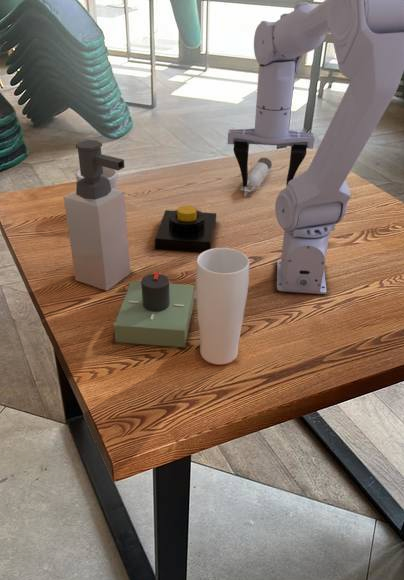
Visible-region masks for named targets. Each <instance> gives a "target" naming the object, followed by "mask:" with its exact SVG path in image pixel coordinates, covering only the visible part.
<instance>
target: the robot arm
mask: <svg viewBox="0 0 404 580" xmlns="http://www.w3.org/2000/svg"><path fill="white" fill-rule="evenodd" d="M260 21H261V22H260V23H259V24H258V25H257V26H256V28H255V31H254V36H253V52H254V58H255V60H256V62H257V63H258V73H257V74H258V76H257V89H256V101H255V103H256V104H255V105H256V106H255V116H254V128H238V129H237V128H236V129H234V128H233V129H231V128H229V129H228V131H227V145H233V153H234V156H235V158H236V161H237V164H238V166H239V170H240V174H241V180H242V181H243V187H247V181H248V173H249V168H248V165H249V163H248V161H249V151H250V150H249V149H250V145H257V146H258V145H259V146H261V145H262V146H280V147H290V156H289V158H290V159H289V165H288V171H287V175H286V184H285V188H284V189H282V190H281V191H279V193H278V195H277V197H276V200H275V206H274V211H275V217H276V221H277V223H278V225H279V226H280V227H281V229H282V230H283V238H282V239H283V240H282V248H281V255H280V256H281V257H280V260H277V261H276V291H278V292H288V293H301V294H315V295H326V294H327V292H328V291H327V283H326V275H325V266H326V257H327V252H328V246H329V241H330V233H331V232H334V231H335V230H336V229H335V227H336V224H339V223H341V222H342V221H343V219H344V217H345V214H346V211H347V205H348V202H349V200H350V199H351V197H352V195H351V190H350V187H349V185H348V183H347V181H346V179H347V177H348V176H349V174H350V173H351V171H352V169H353V167H354V166H355V164H356V162H357V160H358V159H359V157H360V155H361V154H362V151H363V150H364V148H365V146H366V144H367V143H368V142H369V140H370V138H371V136H372V134H373V132H374V131H375V129H376V128H377V126H378V124H379V123H380V121H381V119H382V117H383V116H384V114H385V112H386V111H387V109H388V106H389V105H390V103H391V102H392V100H393V98H394V96H395V95H396V92H397V90H398V89H399V86H400V83H401V79H402V77H403V74H404V0H324V1H322V2H321V3H320V4H318V5H316V6H315V5H313V4H309V2H308V1H305V2H304V1H302V2H298V3H296V4H294V10H293V11H291V12H289V13H282V14H281V15H280V18H279V19H277V20H276V21H266V20H260ZM328 34H331V39H332V40H331V41H332V44H333V49H334V53H335V57H336V62H337V66H338V70H339V73H340V74H341V75H342V76H344V78H345V77H346V79H347V80H349V84H348V86H347V87H346V89H345V92H344V94H343V96H342V97H341V100H340V103H339V104H338V106H337V108H336V111H335V112H334V115H333V117H332V119H331V121H330V123H329V125H328V127H327V129H326V131H325V133H324V134H323V135H324V136H323V137H322V139H321V142H320V143H319V146H318V147H317V150H316V152H315V155H314V156H313V158H312V159H311V162H310V165H309V166H308V169H307V170H306V171H304V172H303V173H300V174H299V175H297V176H296V173H297V171H298V169H299V168H300V166H301V164H302V163H303V161H304V159H305V158H306V156H307V150H308V149H309V150H312V149H314V145H315V140H316V139H315V138H316V137H315V133H311V132H310V133H309V132H302V131H295V130H290V122H291V111H292V102H293V95H294V94H293V93H294V84H295V77H296V76H297V75H298V73H299V69H300V64H301V61H302V59H303V57H304V55H305V54H307V53H309V52H312V51H314V50H316V49H317V48H319V47H320V46H321V45H322V44H323V43H324V40H325V39H326V36H327V35H328Z"/></svg>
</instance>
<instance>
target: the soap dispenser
mask: <svg viewBox="0 0 404 580" xmlns="http://www.w3.org/2000/svg"><path fill="white" fill-rule="evenodd" d="M102 147H103V142H101V141H99V140H96V139H95V140H94V139H85V140H82V141H79V142H77V143H76V144H75V148H76V149H77V153H78V162H79V170H80V172H81V176H83V177H84V178H82V179H81V180H79V181H78V182H77V181H76V186H75V188H76V189H75V190H74V191H72V192H70V193H68V194H66V195H64V196H63V201H64V209H65V216H66V224H67V229H68V236H69V244H70V250H71V257H72V264H73V270H74V278H75V279H74V280H75V281H78V282H81V283H83V284H86V285H89V286H93V287H95V288H98V289H100V290H103V291H109V290H110V289H111V288H113V287H114V286H116V285H117V284H118V283H119V282H121V281H122V280H124V279H125V278H126V277H128V276H129V275H131V262H130V251H129V249H130V248H129V237H128V235H129V234H128V223H127V210H126V209H127V208H126V196H125V195H126V194H125V190H121V189H118V188H117V189H113V188H111V186H110V182H109V179H107V178H105V177H103V176H101V175H102V174H103V167H107V168H110V169H114V170H116V171H120V170H122V169H125V159H124V158H121V157H120V158H119V157H115V156H110V155H106V154H102Z"/></svg>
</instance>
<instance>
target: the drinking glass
mask: <svg viewBox="0 0 404 580" xmlns="http://www.w3.org/2000/svg"><path fill="white" fill-rule="evenodd" d="M195 262H196V263H195V299H196V307H197V309H196V310H197V321H198V333H199V354H200V355H201V357H202V359H203V360H204V361H206V362H207V363H209V364H213V365H218V366H219V365H220V366H221V365H223V366H224V365H226V364H227V365H228V364H231V363H232V362H234V361H235V360H236V358H237V357H238V355H239V348H240V347H239V346H240V338H241V333H242V327H243V322H244V316H245V312H246V311H245V310H246V305H247V299H248V294H249V293H248V292H249V283H250V266H251V265H250V258H249V257H248V256H247V255H246V254H245V252H244V253H243V252H242V251H239V250H237V249H234V248H229V247H215V248H211V249H210V250H206V251H204V252H200V254H199V255H198V256H197V257H196V261H195Z"/></svg>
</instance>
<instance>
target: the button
mask: <svg viewBox="0 0 404 580" xmlns="http://www.w3.org/2000/svg"><path fill="white" fill-rule="evenodd" d="M176 210H177V219H178V220H180V221H188V222H189V221H194V220H196V219H197V211H198V209H197V208H196V207H195V206H193V205H180V206H179V207H177V208H176Z"/></svg>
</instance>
